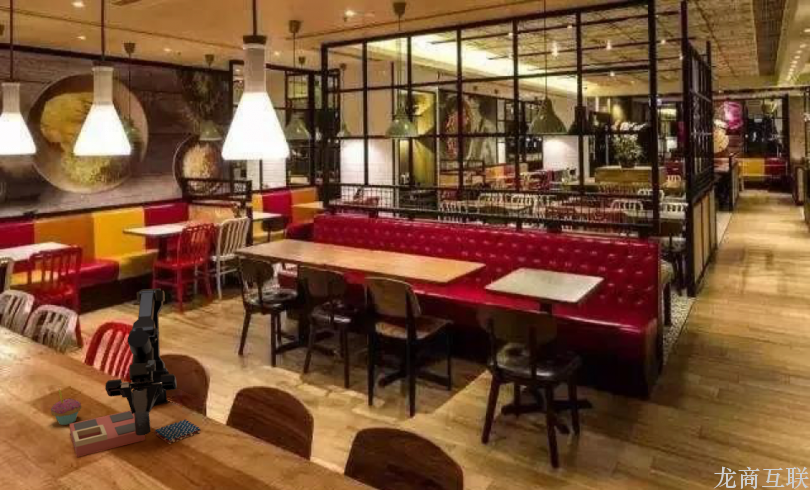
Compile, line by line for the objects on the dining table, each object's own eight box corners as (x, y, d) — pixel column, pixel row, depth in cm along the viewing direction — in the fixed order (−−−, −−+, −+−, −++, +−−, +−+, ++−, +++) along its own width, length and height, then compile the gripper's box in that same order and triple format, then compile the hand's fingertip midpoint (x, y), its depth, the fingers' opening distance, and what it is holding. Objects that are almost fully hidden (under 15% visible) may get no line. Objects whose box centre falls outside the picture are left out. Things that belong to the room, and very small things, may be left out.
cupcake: (68, 428, 189) (65, 391, 187) (45, 426, 191) (41, 390, 189) (88, 417, 197) (85, 381, 196) (65, 415, 199) (62, 380, 197)
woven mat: (152, 435, 185) (152, 429, 184) (185, 424, 192) (185, 418, 192) (168, 446, 178) (168, 439, 177) (202, 434, 185) (201, 427, 185)
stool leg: (149, 428, 179) (145, 385, 177) (151, 433, 176) (148, 390, 174) (134, 431, 177) (131, 388, 175) (137, 436, 173) (133, 393, 172)
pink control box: (133, 418, 196) (132, 405, 195) (145, 439, 181) (144, 425, 180) (70, 433, 186) (69, 419, 185) (77, 456, 171) (75, 441, 170)
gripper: (103, 353, 174) (99, 405, 165) (173, 347, 179) (172, 397, 170) (110, 371, 183) (107, 421, 174) (176, 364, 188) (176, 412, 179)
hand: (140, 412), depth 174 cm, fingers closed on stool leg, 4 cm apart
